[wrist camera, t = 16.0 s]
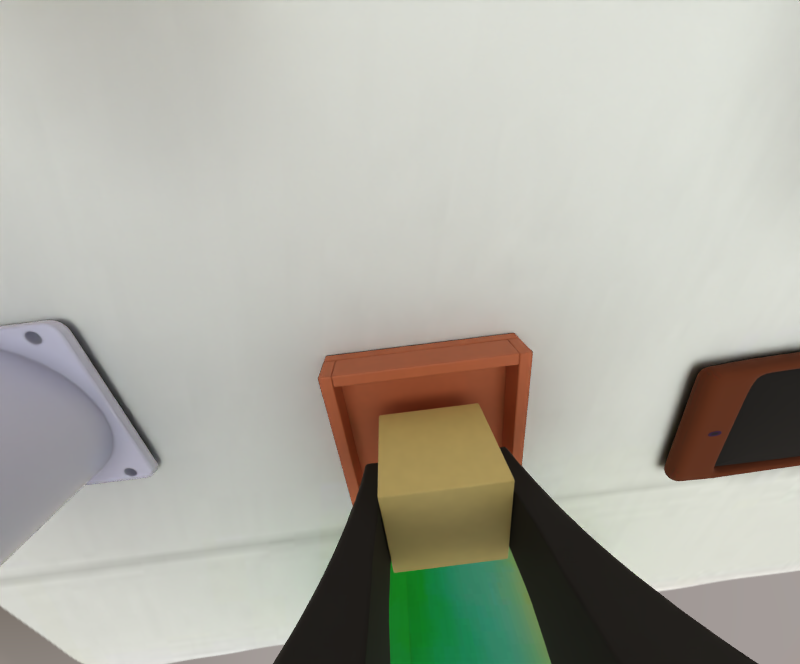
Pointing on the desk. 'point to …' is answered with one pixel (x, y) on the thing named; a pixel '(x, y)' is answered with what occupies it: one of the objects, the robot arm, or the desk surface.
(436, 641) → the green octagonal canister
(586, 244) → the desk surface
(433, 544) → the butter pat
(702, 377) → the smartphone
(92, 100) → the desk surface
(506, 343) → the tray
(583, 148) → the desk surface
